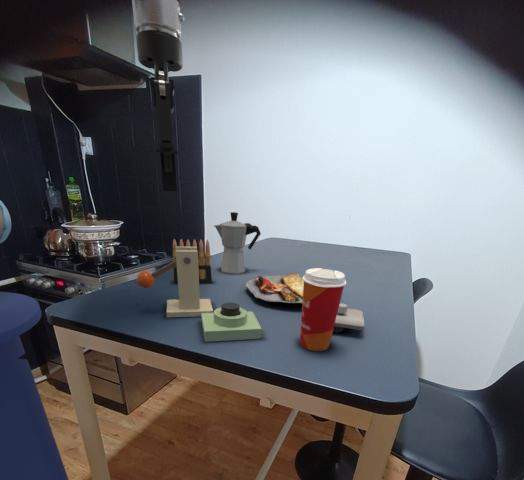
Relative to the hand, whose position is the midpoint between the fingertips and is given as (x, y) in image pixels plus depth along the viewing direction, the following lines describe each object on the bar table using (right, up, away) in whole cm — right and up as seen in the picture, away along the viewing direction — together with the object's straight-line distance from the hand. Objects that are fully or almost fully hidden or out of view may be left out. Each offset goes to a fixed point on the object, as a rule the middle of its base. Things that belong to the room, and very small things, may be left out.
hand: (170, 190), depth 65 cm
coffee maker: (+10, -6, +41) cm, 43 cm away
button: (+13, -26, -2) cm, 29 cm away
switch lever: (-1, -17, +3) cm, 17 cm away
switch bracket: (+2, -24, +8) cm, 25 cm away
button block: (+12, -29, 0) cm, 31 cm away
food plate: (+26, -18, +22) cm, 39 cm away
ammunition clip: (-1, -13, +27) cm, 30 cm away
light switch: (+36, -28, +5) cm, 46 cm away
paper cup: (+29, -32, -4) cm, 43 cm away
